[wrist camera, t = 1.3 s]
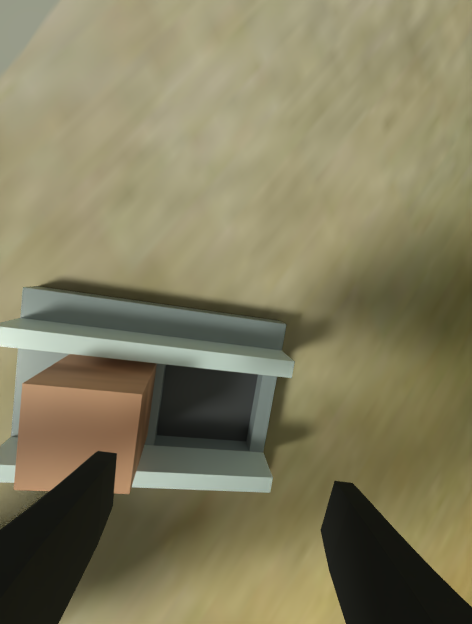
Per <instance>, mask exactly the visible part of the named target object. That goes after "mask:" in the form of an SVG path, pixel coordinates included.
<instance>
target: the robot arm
mask: <svg viewBox="0 0 472 624" xmlns="http://www.w3.org/2000/svg"><path fill="white" fill-rule="evenodd" d="M116 460H117V453H111V452H103V451H97V452H96V453H94V454H93V455H92V456H91V457H89V458H88V459H87V460H86V461H85V462H84V463H82V464H81V465H80V466H79V467H78V468H77V469H75V470H74V471H73V472H72V473H71V474H70V475H68V476H67V477H66V478H65V479H64V480H63V481H61V482H60V483H59V484H58V485H57V486H55V487H54V488H53V489H52V490H50V491H49V492H48V493H47V494H46V495H44V496H43V497H42V498H41V499H39V500H38V501H37V502H36V503H34V504H33V505H32V506H31V507H29V508H28V509H27V510H26V511H24V512H23V513H22V514H20V515H19V516H18V517H16V518H15V519H14V520H12V521H11V522H10V523H9V524H7V525H6V526H5V527H3V528H2V529H1V530H0V624H58V623H59V621H60V619H61V617H62V615H63V613H64V611H65V609H66V607H67V605H68V603H69V601H70V599H71V597H72V595H73V593H74V591H75V589H76V587H77V585H78V583H79V581H80V579H81V577H82V575H83V573H84V571H85V569H86V567H87V565H88V563H89V561H90V559H91V557H92V555H93V553H94V551H95V549H96V547H97V545H98V542H99V540H100V537H101V535H102V532H103V530H104V527H105V525H106V522H107V520H108V517H109V514H110V512H111V509H112V506H113V497H114V485H115V473H116ZM321 534H322V539H323V544H324V549H325V553H326V558H327V562H328V567H329V571H330V574H331V577H332V581H333V584H334V587H335V590H336V594H337V597H338V600H339V603H340V606H341V609H342V613H343V616H344V619H345V622H346V624H472V607H471V606H470V605H469V604H468V603H467V602H466V601H465V600H464V599H463V598H461V597H460V596H459V595H458V594H457V593H456V592H455V591H454V590H453V589H452V588H451V587H450V586H449V585H448V584H447V583H446V582H445V581H444V580H443V579H442V578H441V577H440V576H439V575H438V574H437V573H436V572H435V571H434V570H433V569H432V568H431V567H430V566H429V565H428V564H427V563H426V562H425V561H424V559H423V558H422V557H421V556H420V555H419V554H418V553H417V552H416V551H415V550H414V549H413V548H412V547H411V546H410V545H409V544H408V543H407V542H406V541H405V539H404V538H403V537H402V536H401V535H400V534H399V533H398V532H397V531H396V530H395V529H394V528H393V527H392V525H391V524H390V523H389V522H388V521H387V520H386V519H385V518H384V517H383V516H382V514H381V513H380V512H379V511H378V510H377V509H376V508H375V507H374V506H373V505H372V503H371V502H370V501H369V500H368V499H367V498H366V497H365V496H364V495H363V494H362V493H361V491H360V490H359V489H358V488H357V487H356V486H355V485H354V484H353V483H348V482H340V481H334V485H333V489H332V492H331V496H330V499H329V503H328V506H327V510H326V513H325V517H324V520H323V524H322V527H321Z"/></svg>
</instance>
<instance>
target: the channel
mask: <svg viewBox="0 0 472 624" xmlns="http://www.w3.org/2000/svg"><path fill="white" fill-rule="evenodd" d="M285 330H286V324H285V323H283V322H281V321H278V320H271V319H264V318H257V317H250V316H243V315H236V314H229V313H222V312H215V311H208V310H201V309H194V308H187V307H180V306H173V305H166V304H159V303H152V302H145V301H138V300H130V299H123V298H116V297H109V296H102V295H95V294H88V293H81V292H74V291H67V290H60V289H53V288H46V287H39V286H34V287H23V293H22V306H21V318H18V319H14V320H9V321H5V322H1V323H0V346H2V347H11V348H18V357H17V369H16V382H15V394H14V407H13V420H12V432H11V437H10V438H9V439H8V440H7V441H6V442H4V443H3V444H2V445H1V446H0V482H8V483H14V479H15V467H16V455H17V442H18V430H19V418H20V406H21V394H22V383H24V382H26V381H27V380H29V379H30V378H32V377H34V376H35V375H37V374H38V373H40V372H42V371H43V370H45V369H46V368H48V367H50V366H51V365H53V364H55V363H56V362H58V361H59V360H61V359H63V358H64V357H66V356H67V355H69V354H76V355H85V356H94V357H103V358H112V359H122V360H131V361H140V362H149V363H157V367H156V374H155V382H154V389H153V397H152V404H151V412H150V419H149V426H148V434H147V438H146V441H145V444H144V448H143V451H142V454H141V458H140V461H139V464H138V467H137V471H136V474H135V477H134V481H133V484H132V487H137V488H163V489H189V490H215V491H241V492H266V493H270V491H271V485H272V480H273V477H272V474H271V471H270V469H269V466H268V464H267V461H266V458H265V456H264V453H263V451H264V445H265V440H266V434H267V429H268V423H269V418H270V412H271V407H272V401H273V396H274V390H275V385H276V379H277V376H278V377H287V378H292V373H293V368H294V363H295V362H294V361H293V360H292V359H291V358H290V357H289V356H288V355H286V354H285V353H284V352H283V351H282V346H283V341H284V335H285Z"/></svg>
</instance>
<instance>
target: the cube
mask: <svg viewBox="0 0 472 624" xmlns="http://www.w3.org/2000/svg"><path fill="white" fill-rule="evenodd" d="M156 367H157V363H149V362H140V361H131V360H122V359H112V358H103V357H94V356H85V355H76V354H69V355H67V356H66V357H64V358H63V359H61V360H59V361H58V362H56V363H55V364H53V365H51V366H50V367H48V368H46V369H45V370H43V371H42V372H40V373H38V374H37V375H35V376H34V377H32V378H30V379H29V380H27V381H26V382H24V383H22V394H21V406H20V418H19V430H18V442H17V455H16V467H15V479H14V490H29V491H50V490H52V489H53V488H54V487H55V486H57V485H58V484H59V483H60V482H61V481H63V480H64V479H65V478H66V477H67V476H68V475H70V474H71V473H72V472H73V471H74V470H75V469H77V468H78V467H79V466H80V465H81V464H82V463H84V462H85V461H86V460H87V459H88V458H89V457H91V456H92V455H93V454H94V453H96V452H97V451H103V452H111V453H117V460H116V473H115V485H114V493H115V494H130V490H131V487H132V484H133V481H134V477H135V474H136V471H137V467H138V464H139V461H140V458H141V454H142V451H143V448H144V444H145V441H146V438H147V434H148V426H149V419H150V412H151V404H152V397H153V389H154V382H155V374H156Z"/></svg>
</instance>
